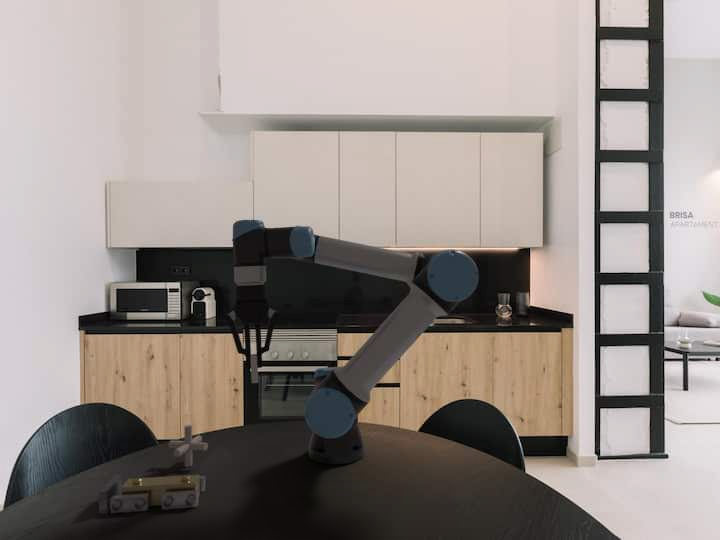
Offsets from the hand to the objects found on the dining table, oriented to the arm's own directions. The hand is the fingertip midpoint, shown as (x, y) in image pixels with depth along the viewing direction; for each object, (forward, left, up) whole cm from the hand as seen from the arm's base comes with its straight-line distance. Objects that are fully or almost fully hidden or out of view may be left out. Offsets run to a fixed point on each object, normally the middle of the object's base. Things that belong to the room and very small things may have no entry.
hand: (254, 381), depth 110 cm
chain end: (+14, +10, -23) cm, 28 cm away
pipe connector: (+18, -8, -23) cm, 30 cm away
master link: (+19, +10, -23) cm, 31 cm away
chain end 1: (+25, +10, -23) cm, 35 cm away
